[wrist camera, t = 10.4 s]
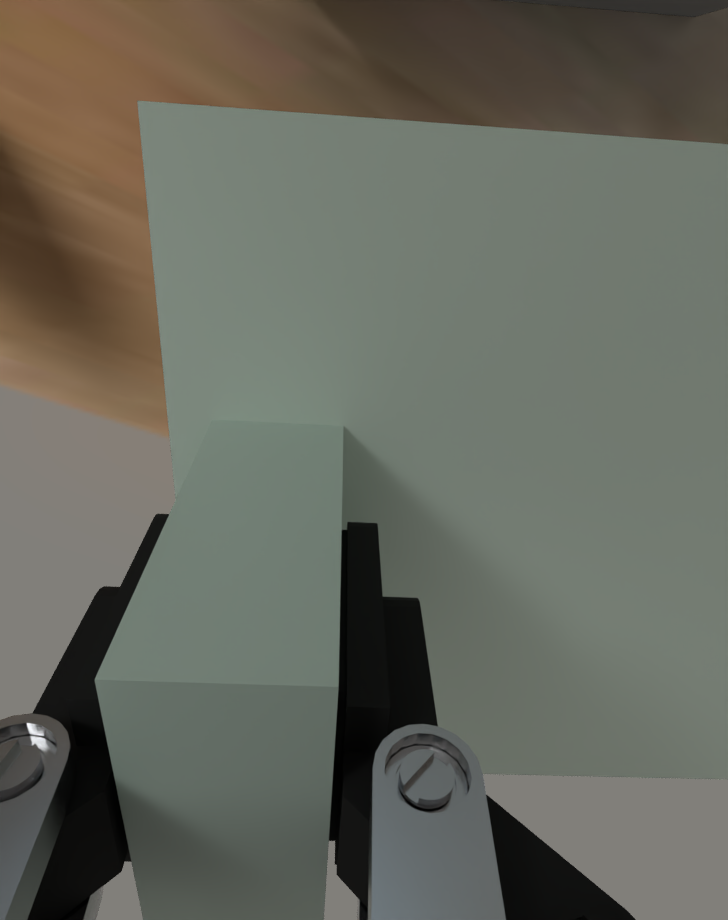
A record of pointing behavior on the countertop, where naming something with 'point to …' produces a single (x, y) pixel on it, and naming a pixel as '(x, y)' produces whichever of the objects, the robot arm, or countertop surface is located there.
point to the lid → (419, 470)
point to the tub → (643, 5)
